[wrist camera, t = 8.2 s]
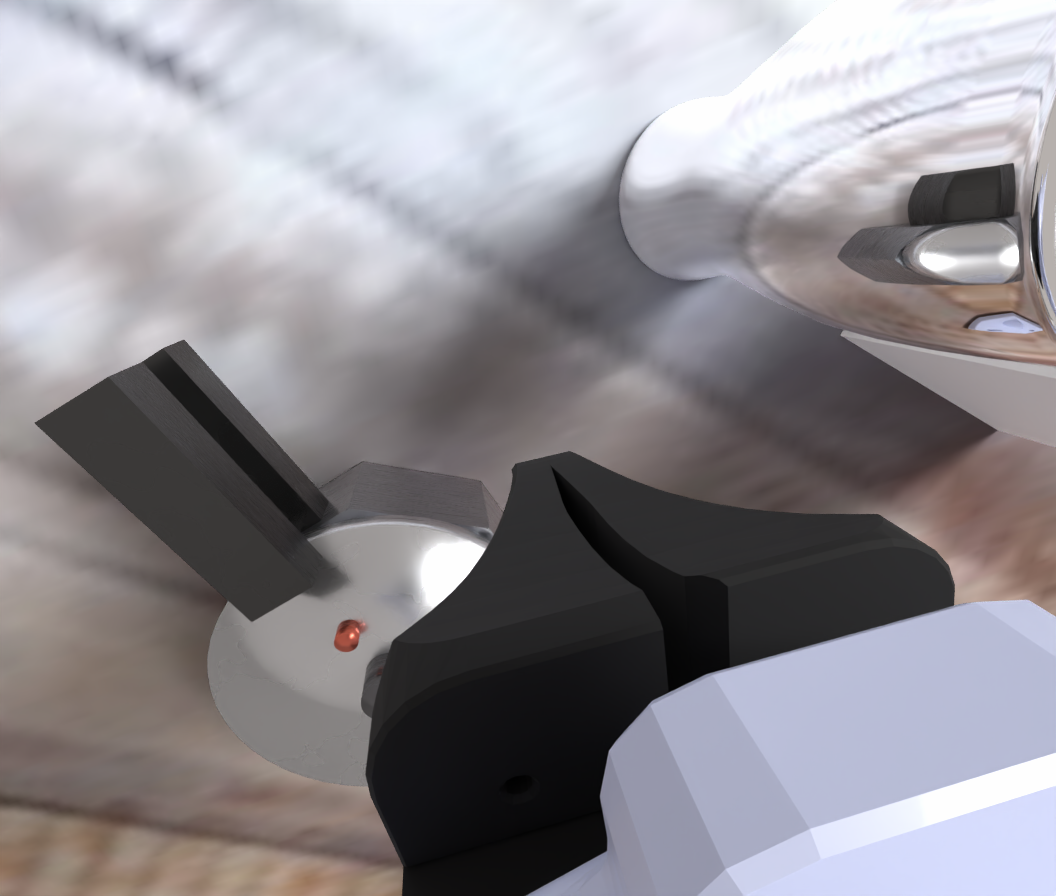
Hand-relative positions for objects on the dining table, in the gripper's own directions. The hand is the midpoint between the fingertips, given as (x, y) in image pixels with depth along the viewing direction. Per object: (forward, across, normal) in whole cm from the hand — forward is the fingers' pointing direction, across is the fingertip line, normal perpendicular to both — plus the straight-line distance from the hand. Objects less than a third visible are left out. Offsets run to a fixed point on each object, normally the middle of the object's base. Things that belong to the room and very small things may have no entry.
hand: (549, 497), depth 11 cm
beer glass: (+11, -9, -5) cm, 15 cm away
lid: (+6, +8, +5) cm, 11 cm away
